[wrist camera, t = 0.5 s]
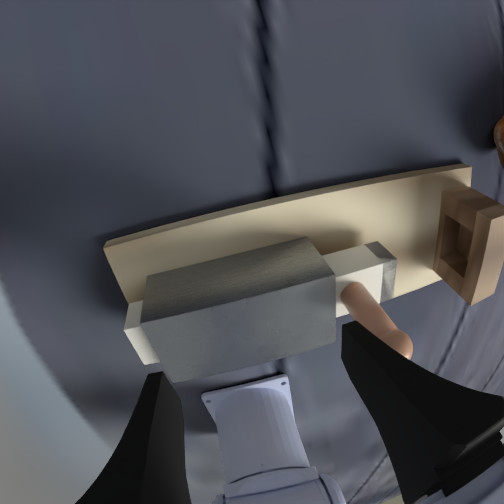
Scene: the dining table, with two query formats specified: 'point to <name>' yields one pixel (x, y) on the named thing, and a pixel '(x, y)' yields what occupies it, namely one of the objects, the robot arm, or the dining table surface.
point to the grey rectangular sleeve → (240, 310)
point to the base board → (304, 228)
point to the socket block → (469, 243)
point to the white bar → (347, 298)
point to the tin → (500, 139)
